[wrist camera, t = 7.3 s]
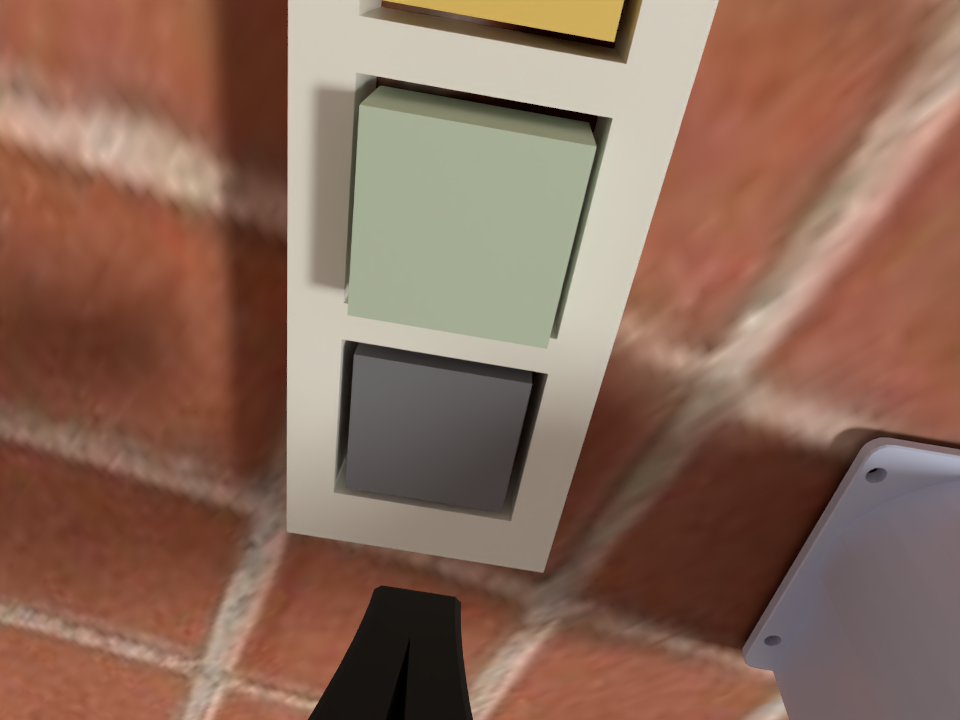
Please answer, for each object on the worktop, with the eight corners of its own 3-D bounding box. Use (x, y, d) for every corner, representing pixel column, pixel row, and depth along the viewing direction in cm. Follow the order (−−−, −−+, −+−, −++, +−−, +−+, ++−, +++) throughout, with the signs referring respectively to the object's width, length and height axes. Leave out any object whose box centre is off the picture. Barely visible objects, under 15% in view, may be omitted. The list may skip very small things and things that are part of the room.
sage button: (545, 307, 15) (546, 348, 13) (366, 276, 15) (347, 314, 13) (589, 122, 13) (596, 146, 11) (380, 85, 13) (359, 104, 11)
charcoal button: (503, 465, 19) (501, 512, 17) (360, 442, 18) (345, 487, 17) (532, 343, 16) (532, 384, 15) (370, 316, 16) (353, 354, 15)
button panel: (542, 519, 20) (543, 573, 18) (307, 481, 20) (286, 531, 18) (806, -403, 10) (863, -474, 8) (332, -497, 10) (289, -592, 8)
